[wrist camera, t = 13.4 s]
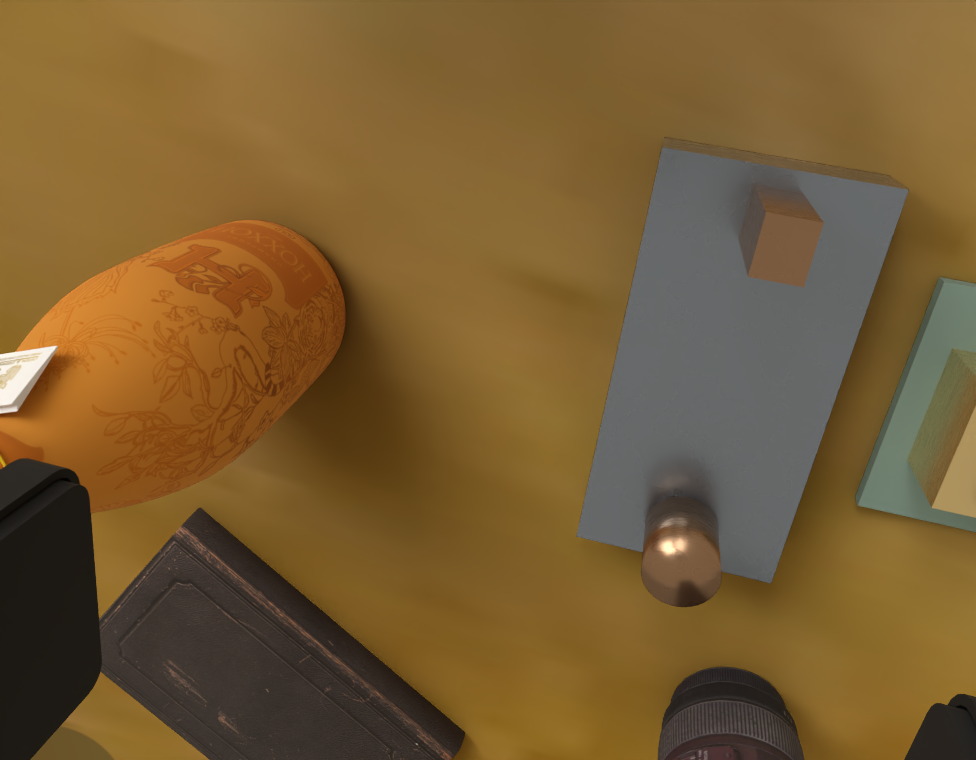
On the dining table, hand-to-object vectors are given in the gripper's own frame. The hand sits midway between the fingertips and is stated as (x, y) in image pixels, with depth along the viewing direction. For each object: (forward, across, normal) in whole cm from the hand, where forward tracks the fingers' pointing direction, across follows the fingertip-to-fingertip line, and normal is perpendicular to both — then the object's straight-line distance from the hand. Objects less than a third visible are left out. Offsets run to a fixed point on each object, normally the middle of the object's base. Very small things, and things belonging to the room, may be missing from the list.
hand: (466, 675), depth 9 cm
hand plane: (+33, -6, +8) cm, 35 cm away
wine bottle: (+34, +18, +10) cm, 39 cm away
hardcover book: (+34, +17, +38) cm, 54 cm away
